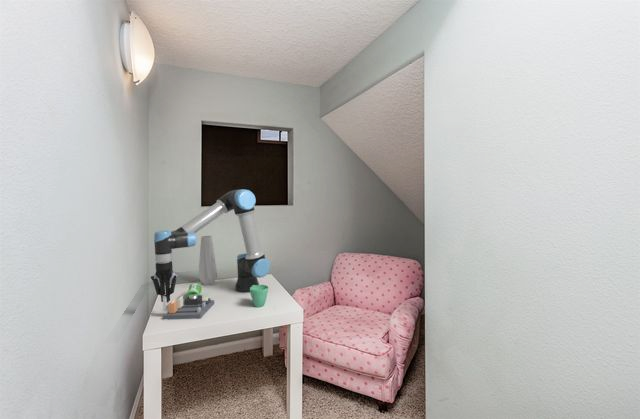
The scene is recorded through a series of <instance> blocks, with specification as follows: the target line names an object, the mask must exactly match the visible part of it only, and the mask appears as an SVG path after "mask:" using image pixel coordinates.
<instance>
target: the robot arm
mask: <svg viewBox="0 0 640 419" xmlns="http://www.w3.org/2000/svg"><path fill="white" fill-rule="evenodd" d="M256 201H257V200H256V196H255V194H254V193H253V192H252V191H251V190H249V189H243V188H242V189H232V190H230V191H228V192H227V193H225V194H224V195H222V196H221V197H219V198H218V199H217V200H216V202H215V203H214V204H212V205H211V206H210V207H208V208H207V209H204V210H203V211H202V212H201V213H199V214H197V215H196V216H194V217H193V218H192V219H191V220H189V221H187V222H186V223H184V224H183V225H181V226H180V227H179V228H177V229H176V230H157V231H156V232H154V236H153V237H154V239H153V242H154V257H155V258H154V259H155V260H154V261H155V273H154V275H153V274H152V276H150V279H151V280H152V282H153V286H154V289H155V293H156V296H160V299H161V300H160V301H161V303H162V307H163V310H167V309H169V303H170V302H171V295H172V294H174V292H175V288H176V282H177V279H178V277H179V275H178V274H177V273H174V271H173V270H174V269H173V250H174V249H175V250H176V249H181V248H182V249H183V248H190V247H192V248H193V247H194V246H196V244H197V235H196V233H198V232H199V231H201V230H202V229H204V228H206V226H208V225H209V224H211V223H212V222H213V221H214V220H216V219H218V218H219V217H221V215H222V216H223V214H228V213H229V212H231V211H233V212H234V215H236V217H238V220H239V221H238V222H239V226H240V230H241V234H242V239H243V243H244V247H245V251H246V252H245V253H239V254H238V255H237V256H236V263H237V264H236V266H237V267H236V268H237V280H236V282H235V286H234V287H235V288H234V289H235V291H237V292H239V293H240V292H241V293H247V292H248V293H250V287H252V285H260V283H259V281H258V278H264V277H266V276H267V274H269V272H270V269H271V264H270V261H269V260H268V259H266V255H265V252H264V251H262V248H261V244H260V240H259V236H258V232H257V227H256V222H255V218H254V213H255V205H256Z"/></svg>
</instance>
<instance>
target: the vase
mask: <svg viewBox="0 0 640 419" xmlns="http://www.w3.org/2000/svg"><path fill="white" fill-rule="evenodd" d="M199 246H200V249H199V262H198V279H199V281H200V282H201V284H202V285H203V286H209V285H213V284H214V283H215V281H216V279H217V278H218V269H217V263H216V256H215V248H214V243H213V236H212V235H204V236H200V245H199Z"/></svg>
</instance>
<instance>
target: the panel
mask: <svg viewBox="0 0 640 419" xmlns="http://www.w3.org/2000/svg"><path fill="white" fill-rule="evenodd" d="M214 305H215V299H211V298H210V297H203V295H202V294H200V295H198V298H197V299H189V297H187V298H186V297H185V299H184V300H183V306H182V307H181V308H178V310H177V311H176V312H175V313H169V311H168V312H166V313H165V314H164V315H163V320H164V319H168V320H195V319H197V320H199V319H202V318H203V316H204V315H205V314H206V313H207V312H208V311H210V309H211V308H212V307H213V306H214Z"/></svg>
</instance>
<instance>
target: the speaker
mask: <svg viewBox="0 0 640 419" xmlns="http://www.w3.org/2000/svg"><path fill="white" fill-rule="evenodd" d="M201 292H202V286H201V285H200V284H199V283H192V284H190V286H189V287H188V291H187V293H186V295H185V299H186V298H187V297H189V295H191V294H198V295H201Z"/></svg>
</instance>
